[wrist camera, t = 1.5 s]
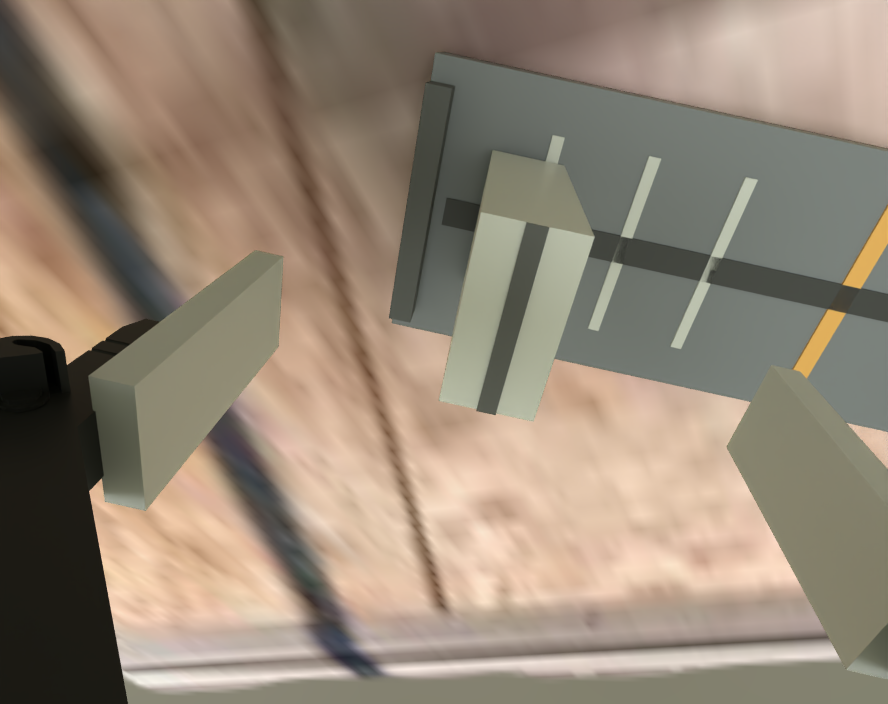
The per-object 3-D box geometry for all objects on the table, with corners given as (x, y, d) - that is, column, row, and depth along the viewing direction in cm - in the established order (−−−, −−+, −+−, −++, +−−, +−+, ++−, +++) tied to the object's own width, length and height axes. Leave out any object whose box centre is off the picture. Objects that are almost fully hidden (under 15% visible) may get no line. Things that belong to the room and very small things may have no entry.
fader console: (443, 51, 25) (430, 53, 21) (1049, 184, 25) (1151, 210, 21) (402, 299, 30) (385, 336, 27) (891, 406, 30) (948, 460, 27)
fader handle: (492, 149, 23) (481, 213, 14) (564, 165, 23) (594, 238, 14) (462, 283, 26) (438, 402, 17) (526, 297, 26) (533, 423, 17)
